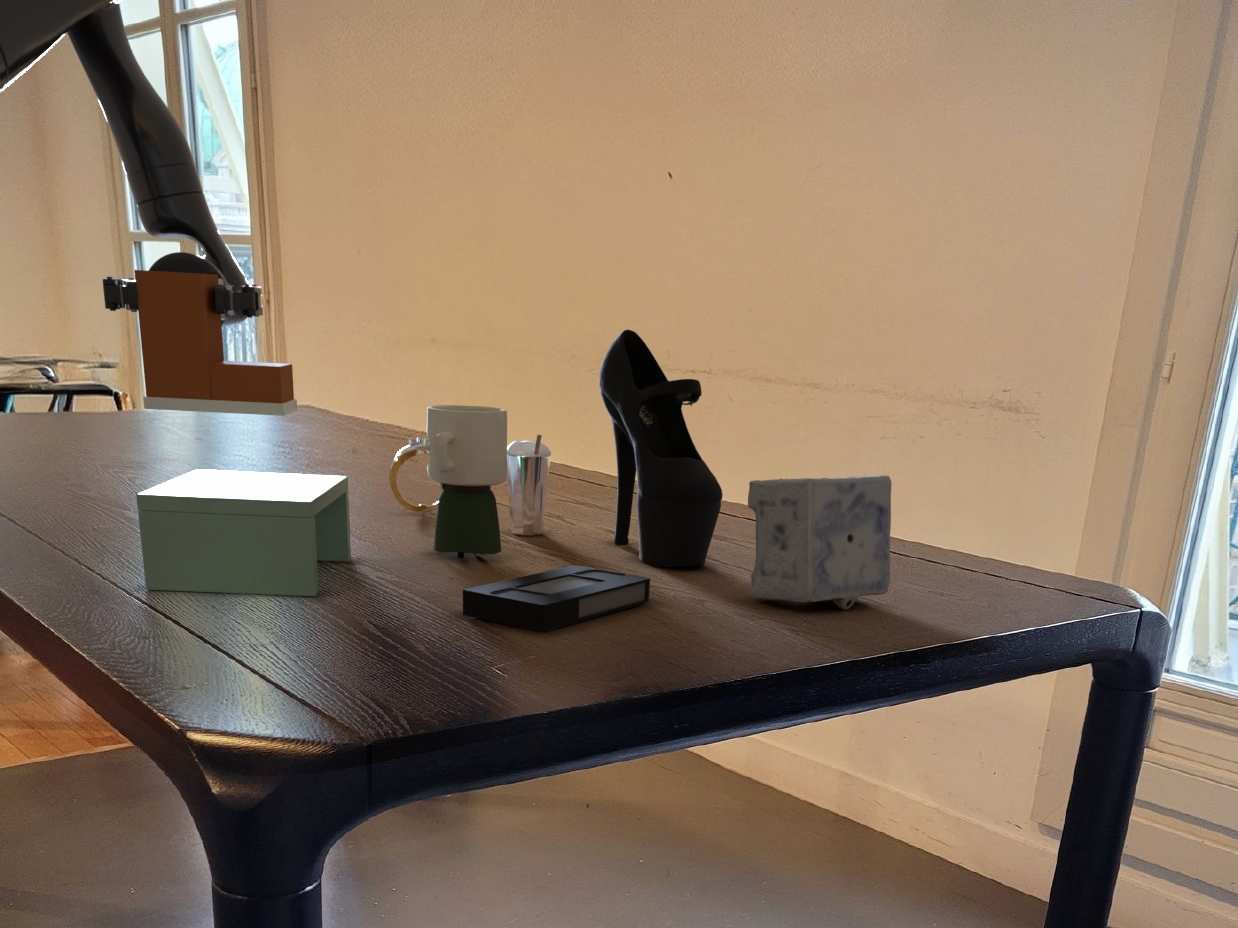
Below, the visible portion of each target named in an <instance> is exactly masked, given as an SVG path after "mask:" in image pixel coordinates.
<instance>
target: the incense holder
mask: <svg viewBox="0 0 1238 928" xmlns="http://www.w3.org/2000/svg"><path fill="white" fill-rule="evenodd" d="M748 485H749V489H748V495H747V507H748V508H749V509H750V510H752V511H753V512H754V514H755V563H754V567H753V570H752V573H751V575H750V579H751V580H750V594H751V595H752V598H754V599H755V600H761V601H767V600H771V601H772V600H774V601H783V602H795V603H815V602H816V603H817V602H823V601H830V600H831V601H832V602H834V603H835V605H836V606H837V607H838V608H839V609H841V610H843V611H845V610H849V609H850V608H851V607H852V606H853V605H854V603H855V602H856V600H857V598H859V597H862V596H863V597H864V596H865V597H866V596H879V595H885V594H886V593H888V592H889V587H890V583H891V531H892V530H891V529H892V527H891V526H892V479H891V478H890V475H885V474H884V475H882V474H877V475H876V474H875V475H859V476H846V477H834V478H830V477H821V478H812V477H801V478H777V479H776V478H775V479H763V480H761V479H760V480H759V479H757V480H750V481H749V483H748Z"/></svg>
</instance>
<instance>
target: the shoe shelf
mask: <svg viewBox="0 0 1238 928" xmlns="http://www.w3.org/2000/svg"><path fill="white" fill-rule="evenodd" d="M135 496H136V504H137V505H136V507H137V514H138V523H139V535H140V543H141V544H140V545H141V554H142V564H143V574H144V583H145V589H146V590H147V591H168V592H191V593H194V592H195V593H215V594H216V593H217V594H218V593H219V594H243V595H263V596H266V595H267V596H289V597H316V596H317V595H318V594H319V575H318V574H319V573H318V562H319V561H320V562H322V561H323V562H341V563H342V562H344V563H349V562H350V561H351V560H352V551H351V549H352V548H351V546H352V545H351V525H350V523H351V522H350V499H349V498H350V496H349V476H347V475H330V474H329V475H327V474H306V473H305V474H304V473H287V472H285V473H284V472H283V473H282V472H265V471H264V472H262V471H242V470H241V471H240V470H239V471H238V470H221V469H220V470H217V469H197V468H196V469H195V470H192V471H190V472H187V473H185V474H183V475H180V476H177V477H175V478H172V479H170V480H167V481H166V482H163V483H161V484H158V485H156V486H153V487H151V488H149V489H146V490H144V491H141V492H138V493H136V495H135Z"/></svg>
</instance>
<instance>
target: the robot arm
mask: <svg viewBox="0 0 1238 928" xmlns="http://www.w3.org/2000/svg"><path fill="white" fill-rule="evenodd" d="M122 1H123V0H0V93H2V91H3V92H4V90H5V89H6V88H7V87H9V86H10V85H11V84H12V83H14V81H15V80H17V79H18V78H19V77H20V76H22V75H23V74H24V73H26V71H28V70H29V69H30V68H31V67H32V66H33V65H34V64H35V63H36V62H37V61H39V60H40V59H41V58H42V57H43V56H45V55H46V53H48V51H50V49H52V48H53V46H55V44H57V43H58V42H59V41H60V40H61V39H62V38H63V37H64V36H65V35H66V34H67V36H68V38H69V40H70V42H71V44H72V47H73V49H74V51H75V53H76V55H77V58H78V59H79V62H80V64H81V66H82V68H83V71H84V73H85V75H86V77H87V79H88V81H89V83H90V85H91V87H92V90H93V92H94V94H95V96H96V98H97V100H98V103H99V105H100V107H101V109H102V111H103V114H104V117H105V119H106V122H107V124H108V127H109V129H110V132H111V134H112V137H113V139H114V143H115V146H116V149H117V151H118V154H119V156H120V160H121V163H122V167H123V170H124V173H125V175H126V178H127V183H128V185H129V188H130V192H131V194H132V197H133V201H134V203H135V206H136V209H137V214H138V216H139V219H140V222H141V224H142V226H143V228H144V230H145V231H146V233H147V234H148V235H150V236H152V237H155V238H163V239H186V240H190V241H193V242H195V243H196V244H197V245H198V246H199V247H200V248H201V250H202V252H203V253H204V255H203V256H200V255H197V254H194V253H191V252H184V251H176V252H171V253H168V254H165V255H163V256H161V257H160V258H158V259H157V260H156V261H155V262H153V264H152V265H151V266H150V268H149V269H148V271H163V272H180V273H198V274H213V275H218V282H219V286H214V291H215V305H216V314H221V324H222V328H223V327H228V326H233V325H237V324H241V323H243V322H245V321H246V320H247V319H248V318H249V319H250V318H251V319H252V318H253V317H256V318H257V317H258V318H260V317H261V316H264V307H263V306H264V305H263V292H262V291H263V290H262V286H258V284H249V281H248V280H247V277H246V276H245V274H244V272H243V270H242V268H241V267H240V266H239V264H238V262H237V260H236V258H235V257H234V256H233V254H232V252H231V251H230V249H229V247H228V246H227V244H226V242H225V240H224V239H223V237H222V234H221V233H220V231H219V228H218V227H217V224H216V223H215V220H214V218H213V216H212V213H211V210H210V208H209V205H208V201H207V199H206V196H205V194H204V188H203V186H202V182H201V178H200V176H199V173H198V169H197V166H196V162H195V159H194V156H193V154H192V150H191V148H190V145H189V142H188V140H187V138H186V135H185V134H184V132H183V129H182V128H181V125H180V124H179V122H178V120H177V119H176V118H175V116H174V114H173V113H172V111H171V110H170V108H169V107H168V106H167V104H166V103H165V102H164V100H163V98H162V97H161V96H160V94H159V93H158V91H157V90H156V89H155V88H154V86H153V85H152V84H151V82H150V80H149V79H148V77H147V76H146V75H145V73H144V71H143V69H142V67H141V66H140V64H139V62H138V60H137V58H136V56H135V54H134V52H133V49H132V47H131V44H130V41H129V38H128V35H127V32H126V28H125V25H124V20H123V15H122V12H121V11H122V10H121V6H120V2H122ZM102 290H103V299H104V307H105V308H104V309H105V310H109V311H110V312H116V311H117V310H121V309H126V311H130V312H131V313H138V301H137V290H136V282H135V277H127V279H123V278H114V276H106V278H105V277H102Z"/></svg>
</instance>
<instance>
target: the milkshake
mask: <svg viewBox="0 0 1238 928" xmlns="http://www.w3.org/2000/svg"><path fill="white" fill-rule="evenodd" d="M542 436H543V435H542V434H537V435H536V439H535V441H532V440H514V441H512V442H510V444H509V445H507V484H508V486H507V487H508V502H509V520H510V533H512V534H514V535H518V536H527V537H528V536H530V537H532V536H541V535H543V534H544V529H545V518H546V506H547V496H548V485H549V476H550V475H549V474H550V465H551V459H552V451H551V449H550V448H549V447H548V446H547V445H546V444H545V443H544V442H542Z"/></svg>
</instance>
